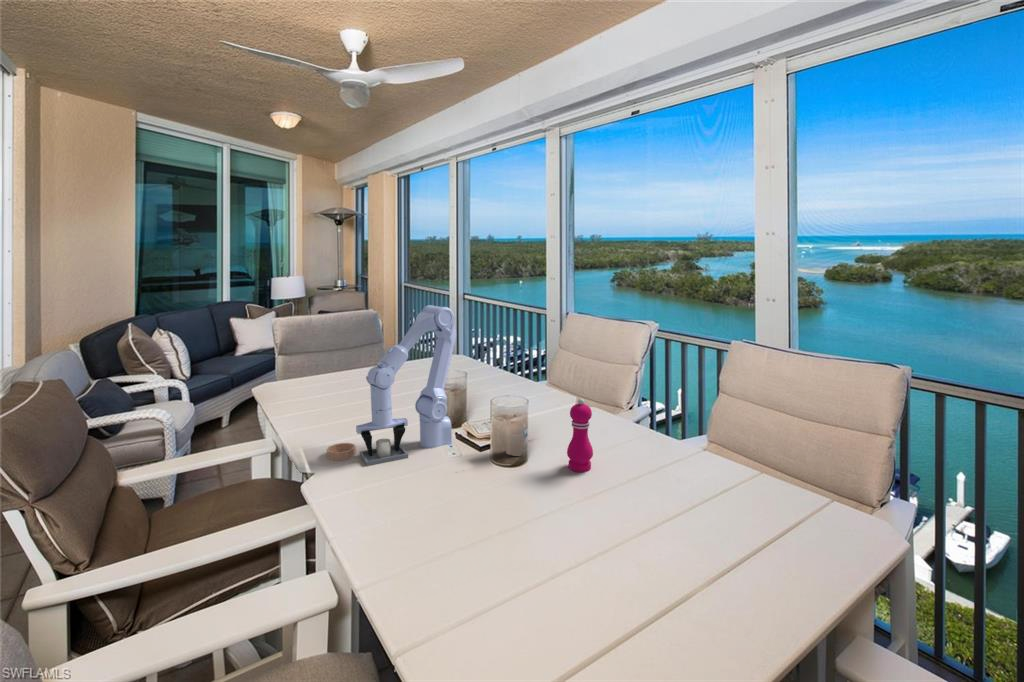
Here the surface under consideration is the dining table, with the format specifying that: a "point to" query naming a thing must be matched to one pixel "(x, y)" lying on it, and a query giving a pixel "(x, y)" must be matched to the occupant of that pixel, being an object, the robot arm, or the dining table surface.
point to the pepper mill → (580, 438)
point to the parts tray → (374, 460)
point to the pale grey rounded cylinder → (383, 448)
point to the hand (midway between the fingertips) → (383, 452)
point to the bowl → (335, 455)
